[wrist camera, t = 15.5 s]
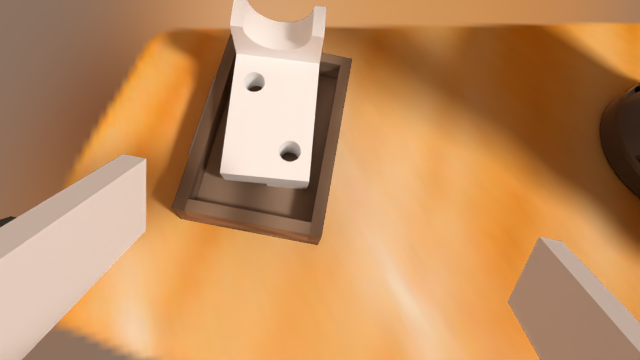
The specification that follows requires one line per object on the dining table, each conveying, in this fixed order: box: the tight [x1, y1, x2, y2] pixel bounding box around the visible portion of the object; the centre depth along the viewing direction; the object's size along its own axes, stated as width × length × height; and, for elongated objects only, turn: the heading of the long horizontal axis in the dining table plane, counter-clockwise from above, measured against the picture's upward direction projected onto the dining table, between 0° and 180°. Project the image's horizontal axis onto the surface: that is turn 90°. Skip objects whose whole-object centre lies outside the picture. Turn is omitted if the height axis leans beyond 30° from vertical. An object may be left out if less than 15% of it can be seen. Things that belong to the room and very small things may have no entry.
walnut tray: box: [172, 34, 352, 245], centre depth 35 cm, size 12×18×3 cm
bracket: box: [220, 0, 327, 190], centre depth 32 cm, size 13×7×8 cm, turn 176°
